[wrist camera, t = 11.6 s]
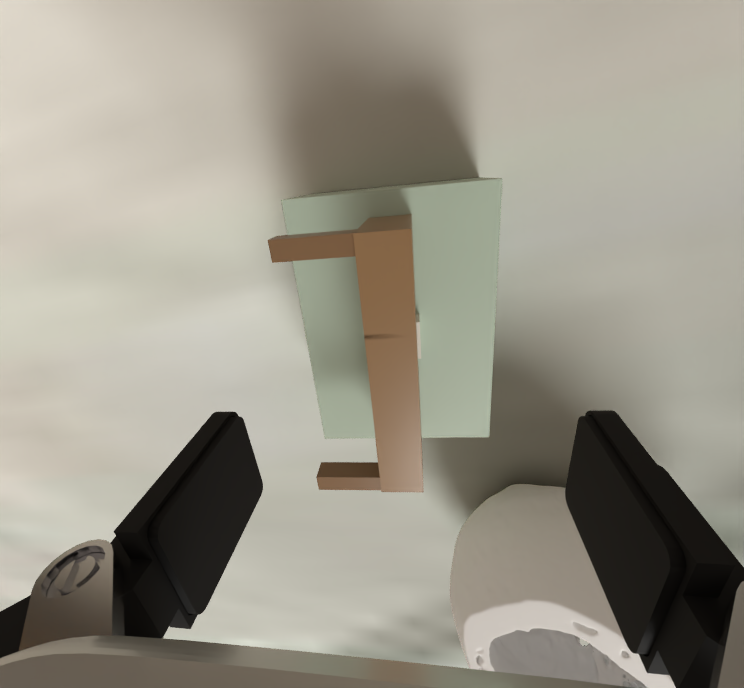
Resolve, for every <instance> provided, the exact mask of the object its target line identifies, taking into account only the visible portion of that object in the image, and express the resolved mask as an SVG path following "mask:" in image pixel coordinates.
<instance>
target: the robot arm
mask: <svg viewBox="0 0 744 688" xmlns="http://www.w3.org/2000/svg"><path fill="white" fill-rule="evenodd" d="M262 490H263V483H262V479H261V476H260V472H259V469H258V466H257V463H256V459H255V456H254V453H253V449H252V446H251V443H250V440H249V436H248V433H247V430H246V426H245V423H244V420H243V418H242V417H239V416H238V414H237V413H236V412H215V413H213V414H212V415H211V417H210V418H209V419H208V420H207V421H206V423H205V424H204V425H203V426H202V427H201V428H200V430H199V431H198V432H197V433H196V434H195V436H194V437H193V438H192V439H191V440H190V442H189V443H188V444H187V445H186V446H185V447H184V449H183V450H182V451H181V452H180V453H179V455H178V456H177V457H176V458H175V459H174V461H173V462H172V463H171V464H170V465H169V466H168V468H167V469H166V470H165V471H164V472H163V474H162V475H161V476H160V477H159V478H158V480H157V481H156V482H155V483H154V484H153V485H152V487H151V488H150V489H149V490H148V491H147V493H146V494H145V495H144V496H143V497H142V499H141V500H140V501H139V502H138V503H137V505H136V506H135V507H134V508H133V509H132V510H131V512H130V513H129V514H128V515H127V516H126V518H125V519H124V520H123V521H122V522H121V524H120V525H119V526H118V527H117V528H116V529H115V531H114V533H115V534H116V537H115V538H114V539H113V540H112V542H111V543H109V542H108V541H106V540H100V539H97V540H91V541H87V542H84V543H81V544H79V545H76V546H75V547H73V548H71V549H69V550H67V551H66V552H64V553H63V554H62V555H60V556H59V557H57V558H56V559H55V560H54V561H53V562H51V563H50V564H49V565H48V566H47V567H46V568H45V569H44V570H43V572H42V573H41V575H40V576H39V577H38V579H37V580H36V582H35V584H34V587H33V589H32V592H31V595H30V596H28V597H27V598H25V599H23V600H21V601H19V602H17V603H16V604H14V605H12V606H10V607H8V608H6V609H5V610H3V611H1V612H0V688H632V687H624V686H616V685H608V684H601V683H593V682H585V681H577V680H569V679H560V678H551V677H542V676H532V675H523V674H514V673H504V672H495V671H486V670H476V669H467V668H458V667H448V666H439V665H430V664H420V663H410V662H400V661H391V660H381V659H371V658H361V657H351V656H342V655H332V654H322V653H312V652H302V651H292V650H281V649H271V648H261V647H250V646H240V645H229V644H219V643H208V642H198V641H187V640H173V639H163V636H164V634H165V632H166V631H167V629H168V627H169V626H170V627H175V628H186V629H191V627H192V625H193V623H194V621H195V619H196V617H197V615H198V614H201V613H202V612H203V611H204V610H205V608H206V607H207V605H208V603H209V601H210V599H211V597H212V595H213V593H214V590H215V588H216V586H217V584H218V582H219V580H220V578H221V576H222V574H223V572H224V570H225V568H226V566H227V564H228V562H229V560H230V558H231V556H232V554H233V552H234V550H235V547H236V545H237V543H238V541H239V539H240V537H241V535H242V533H243V531H244V529H245V527H246V525H247V523H248V521H249V519H250V517H251V515H252V513H253V511H254V509H255V507H256V504H257V502H258V500H259V498H260V496H261V494H262ZM565 498H566V503H567V506H568V508H569V511H570V513H571V515H572V518H573V520H574V523H575V525H576V527H577V530H578V532H579V534H580V537H581V539H582V541H583V544H584V546H585V548H586V551H587V553H588V555H589V558H590V560H591V562H592V565H593V567H594V569H595V572H596V574H597V577H598V579H599V581H600V584H601V586H602V588H603V591H604V593H605V595H606V598H607V600H608V602H609V605H610V607H611V609H612V612H613V614H614V616H615V619H616V621H617V624H618V626H619V628H620V631H621V633H622V635H623V638H624V640H625V642H626V644H627V646H628V648H629V649H630V651H631V652H632V653H635V654H639V656H640V658H641V661H642V663H643V665H644V667H645V670H646V672H647V673H651V674H661V675H670V677H671V679H672V681H673V683H674V685H675V687H676V688H744V567H743V566H742V565H741V564H740V562H739V561H738V560H737V559H736V557H735V556H734V555H733V554H732V552H731V551H730V550H729V549H728V547H727V546H726V545H725V544H724V542H723V541H722V540H721V539H720V537H719V536H718V535H717V534H716V532H715V531H714V530H713V529H712V527H711V526H710V525H709V524H708V522H707V521H706V520H705V519H704V517H703V516H702V515H701V514H700V512H699V511H698V510H697V509H696V507H695V506H694V505H693V504H692V502H691V501H690V500H689V499H688V497H687V496H686V495H685V494H684V492H683V491H682V490H681V489H680V487H679V486H678V485H677V484H676V482H675V481H674V480H673V479H672V477H671V476H670V475H669V474H668V472H667V471H666V470H665V469H664V468H663V467H661V466H659V465H657V464H656V463H655V461H654V460H653V459H652V458H651V456H650V455H649V454H648V452H647V451H646V450H645V449H644V447H643V446H642V445H641V444H640V442H639V441H638V440H637V438H636V437H635V436H634V435H633V433H632V432H631V431H630V429H629V428H628V427H627V426H626V424H625V423H624V422H623V421H622V419H621V418H620V417H619V415H618V414H617V413H616V412H615V411H588V412H587V413H586V415H585V416H581V417H580V418H579V420H578V424H577V429H576V435H575V440H574V446H573V451H572V456H571V462H570V467H569V473H568V478H567V483H566V489H565Z"/></svg>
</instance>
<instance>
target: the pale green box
mask: <svg viewBox="0 0 744 688" xmlns="http://www.w3.org/2000/svg"><path fill="white" fill-rule="evenodd" d="M501 196H502V178H480V177H479V178H469V179H459V180H449V181H439V182H429V183H418V184H408V185H398V186H388V187H378V188H368V189H358V190H347V191H337V192H327V193H317V194H310V195H305V196H299V197H294V198H289V199H284V200H281V202H282V208H283V213H284V218H285V224H286V229H287V235H294V234H306V233H318V232H330V231H342V230H354V229H358V228H359V227H360V226H361V225H362V224H363V223H364V222H365V221H366V220H367V219H368V218H373V217H384V216H396V215H407V214H412V231H413V254H414V276H415V299H416V327H417V349H418V367H419V388H420V410H421V434H422V438H457V437H489V432H490V412H491V392H492V373H493V353H494V334H495V314H496V294H497V275H498V255H499V236H500V216H501ZM292 262H293V268H294V273H295V279H296V284H297V290H298V295H299V300H300V306H301V311H302V317H303V322H304V328H305V333H306V339H307V344H308V350H309V355H310V361H311V366H312V372H313V377H314V382H315V388H316V393H317V399H318V404H319V410H320V415H321V421H322V426H323V432H324V437H325V439H335V438H375V429H374V420H373V411H372V402H371V393H370V384H369V375H368V366H367V357H366V348H365V339H364V330H363V321H362V312H361V303H360V294H359V285H358V276H357V266H356V257H341V258H328V259H314V260H301V261H292Z"/></svg>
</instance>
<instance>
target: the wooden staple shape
mask: <svg viewBox="0 0 744 688" xmlns="http://www.w3.org/2000/svg"><path fill="white" fill-rule="evenodd" d="M268 244H269V249H270V254H271V258H272V263H274V262H287V261H301V260H314V259H328V258H341V257H356V266H357V276H358V285H359V294H360V303H361V312H362V321H363V330H364V339H365V348H366V357H367V366H368V375H369V384H370V393H371V402H372V411H373V420H374V429H375V438H376V447H377V456H378V463H350V462H321V465H320V468H319V471H318V474H317V482H318V487H319V490H381V492H423V463H422V434H421V410H420V388H419V367H418V349H417V327H416V299H415V276H414V254H413V231H412V214H407V215H396V216H384V217H373V218H368V219H367V220H366V221H365V222H364V223H363V224H362V225H361V226H360V227H359V228H358V229H354V230H342V231H330V232H318V233H306V234H294V235H282V236H276V237H274V238H271V239H269V240H268Z"/></svg>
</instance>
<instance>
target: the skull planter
mask: <svg viewBox="0 0 744 688" xmlns="http://www.w3.org/2000/svg"><path fill="white" fill-rule="evenodd" d="M565 489H566V488H564V487H555V486H538V485H532V484H514V485H510V486H508V487H507V488H505V489H503V490H502V491H501V492H499V493H497V494H495V495H493V496H491V497H489V498H488V499H487V500H485V501H484V502H483V503H482V504H481V505H480V506H479V507H478V508H477V509H475V510H474V512H473V513H472V514H471V515H470V516H469V518H468V519H467V520H466V522H465V523H464V525H463V526H462V528H461V530H460V532H459V534H458V537H457V540H456V544H455V549H454V556H453V562H452V568H451V575H450V601H451V607H452V613H453V617H454V621H455V625H456V628H457V632H458V636H459V639H460V643H461V646H462V649H463V652H464V655H465V658H466V661H467V663H468V666H469V668H470V669H476V670H486V671H495V672H504V673H514V674H523V675H532V676H542V677H551V678H560V679H569V680H577V681H585V682H593V683H601V684H608V685H616V686H624V687H632V688H676V687H675V685H674V683H673V681H672V679H671V677H670V675H661V674H651V673H647V672H646V670H645V667H644V665H643V663H642V661H641V658H640V656H639V654H635V653H632V652H631V651H630V649H629V648H628V646H627V644H626V642H625V640H624V638H623V635H622V633H621V631H620V628H619V626H618V624H617V621H616V619H615V616H614V614H613V612H612V609H611V607H610V605H609V602H608V600H607V598H606V595H605V593H604V591H603V588H602V586H601V584H600V581H599V579H598V577H597V574H596V572H595V569H594V567H593V565H592V562H591V560H590V558H589V555H588V553H587V551H586V548H585V546H584V544H583V541H582V539H581V537H580V534H579V532H578V530H577V527H576V525H575V523H574V520H573V518H572V515H571V513H570V511H569V508H568V506H567V503H566V498H565ZM580 638H581V639H583V640H585V641H586V642H588V643H589V644H588V645H587V646H585V645H584V646H582V645H581V644H580V643H579V641H580Z"/></svg>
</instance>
